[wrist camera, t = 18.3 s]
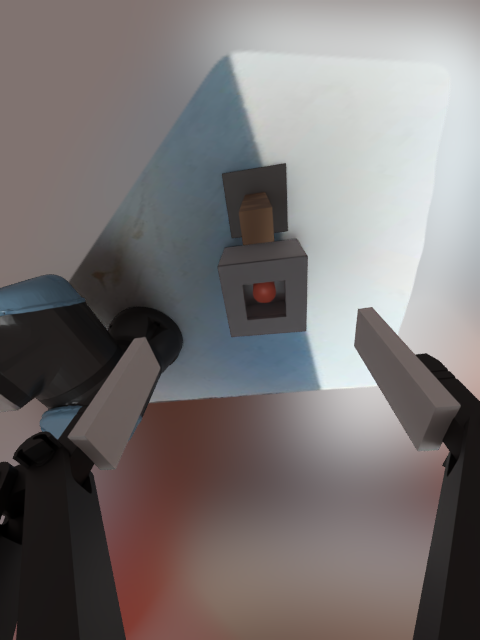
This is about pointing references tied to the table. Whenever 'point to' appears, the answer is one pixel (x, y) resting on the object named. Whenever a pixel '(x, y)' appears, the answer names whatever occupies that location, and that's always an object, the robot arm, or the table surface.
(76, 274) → the table surface
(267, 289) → the red ball
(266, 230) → the wooden stick
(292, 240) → the grey box with opening
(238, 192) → the mat
